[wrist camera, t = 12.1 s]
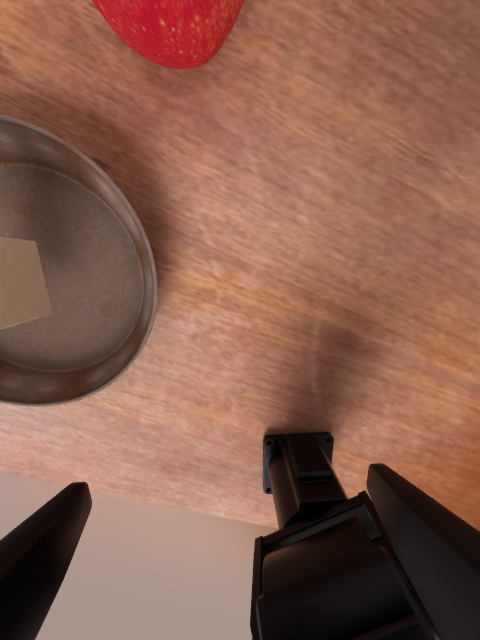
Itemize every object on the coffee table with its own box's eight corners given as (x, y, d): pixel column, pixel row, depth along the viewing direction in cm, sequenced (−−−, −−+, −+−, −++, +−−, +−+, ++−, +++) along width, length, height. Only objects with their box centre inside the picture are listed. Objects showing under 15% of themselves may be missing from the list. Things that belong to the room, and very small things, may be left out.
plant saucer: (-113, 110, 14) (-205, 69, 11) (178, 167, 15) (166, 145, 12) (-66, 371, 18) (-123, 392, 15) (160, 395, 20) (147, 419, 17)
